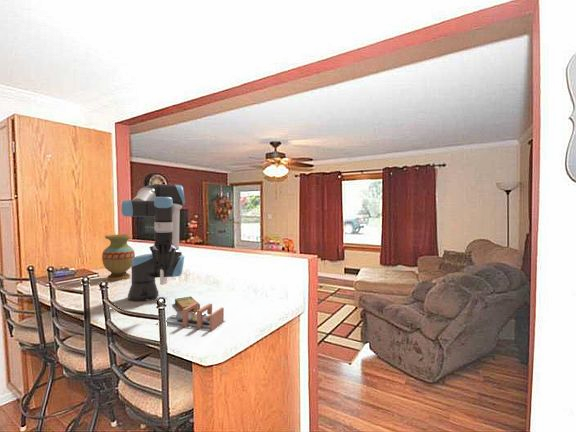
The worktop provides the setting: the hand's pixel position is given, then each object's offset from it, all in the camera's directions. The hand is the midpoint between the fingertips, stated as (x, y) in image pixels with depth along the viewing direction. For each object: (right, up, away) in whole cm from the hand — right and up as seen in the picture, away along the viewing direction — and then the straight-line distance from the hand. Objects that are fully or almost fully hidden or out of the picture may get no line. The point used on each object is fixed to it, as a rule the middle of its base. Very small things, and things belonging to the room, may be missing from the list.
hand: (163, 283), depth 136 cm
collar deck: (+15, -15, -9) cm, 23 cm away
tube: (+17, -14, -9) cm, 24 cm away
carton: (+7, -16, +12) cm, 21 cm away
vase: (-62, -13, +74) cm, 97 cm away
